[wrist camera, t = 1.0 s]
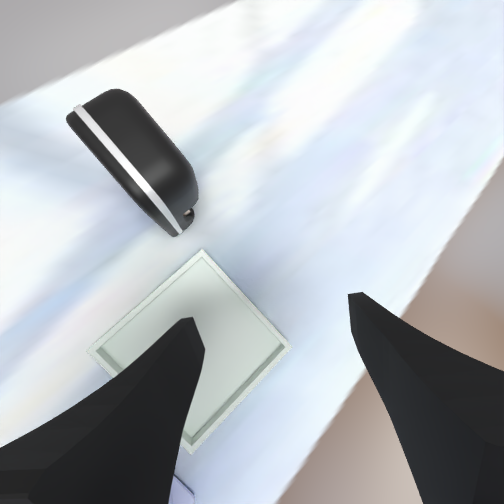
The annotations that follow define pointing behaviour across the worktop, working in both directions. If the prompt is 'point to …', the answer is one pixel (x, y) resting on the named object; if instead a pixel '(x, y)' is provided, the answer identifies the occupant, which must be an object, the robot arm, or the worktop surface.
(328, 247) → the worktop surface
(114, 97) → the battery charger
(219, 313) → the tray
